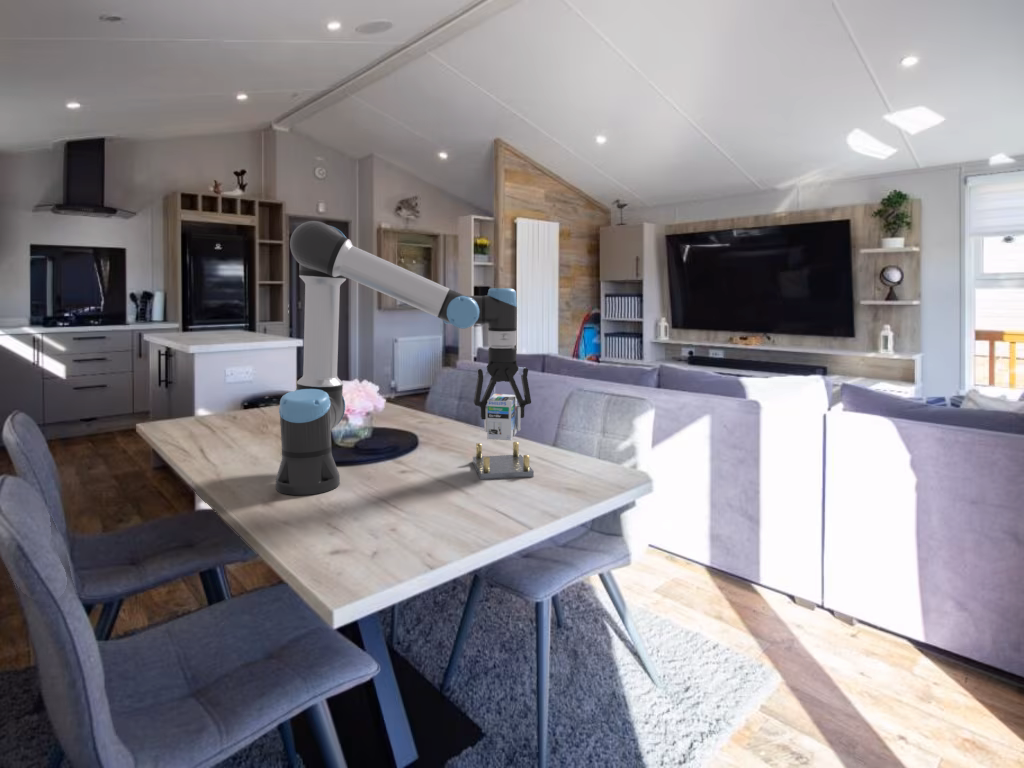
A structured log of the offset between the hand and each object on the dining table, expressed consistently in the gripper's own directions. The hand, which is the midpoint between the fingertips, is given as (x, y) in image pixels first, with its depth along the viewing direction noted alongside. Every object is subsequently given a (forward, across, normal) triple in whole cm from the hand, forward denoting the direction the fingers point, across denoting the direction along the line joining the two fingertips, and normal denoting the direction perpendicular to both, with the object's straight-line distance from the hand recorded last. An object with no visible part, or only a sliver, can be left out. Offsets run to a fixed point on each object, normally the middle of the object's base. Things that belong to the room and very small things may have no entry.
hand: (502, 430), depth 172 cm
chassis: (+11, 0, 0) cm, 11 cm away
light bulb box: (+2, 0, 0) cm, 2 cm away
